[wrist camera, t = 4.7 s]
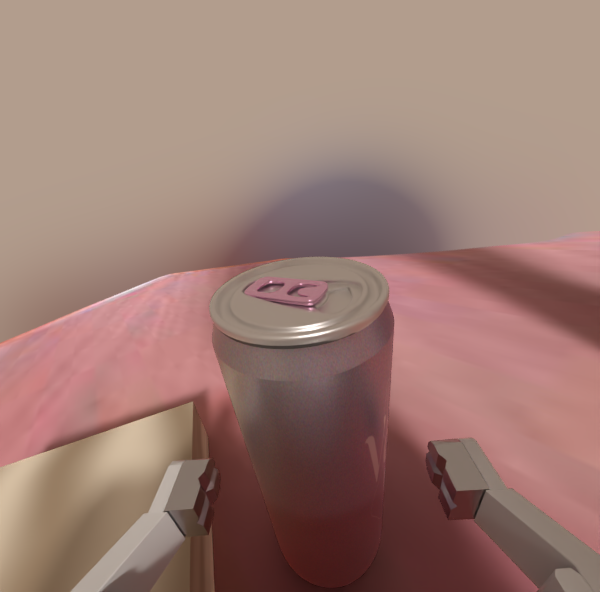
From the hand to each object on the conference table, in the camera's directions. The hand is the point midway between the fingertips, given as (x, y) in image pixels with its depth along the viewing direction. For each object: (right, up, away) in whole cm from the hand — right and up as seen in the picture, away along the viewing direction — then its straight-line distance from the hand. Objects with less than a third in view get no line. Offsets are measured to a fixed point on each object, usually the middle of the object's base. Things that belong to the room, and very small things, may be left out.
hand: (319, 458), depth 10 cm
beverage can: (+1, -7, +5) cm, 9 cm away
